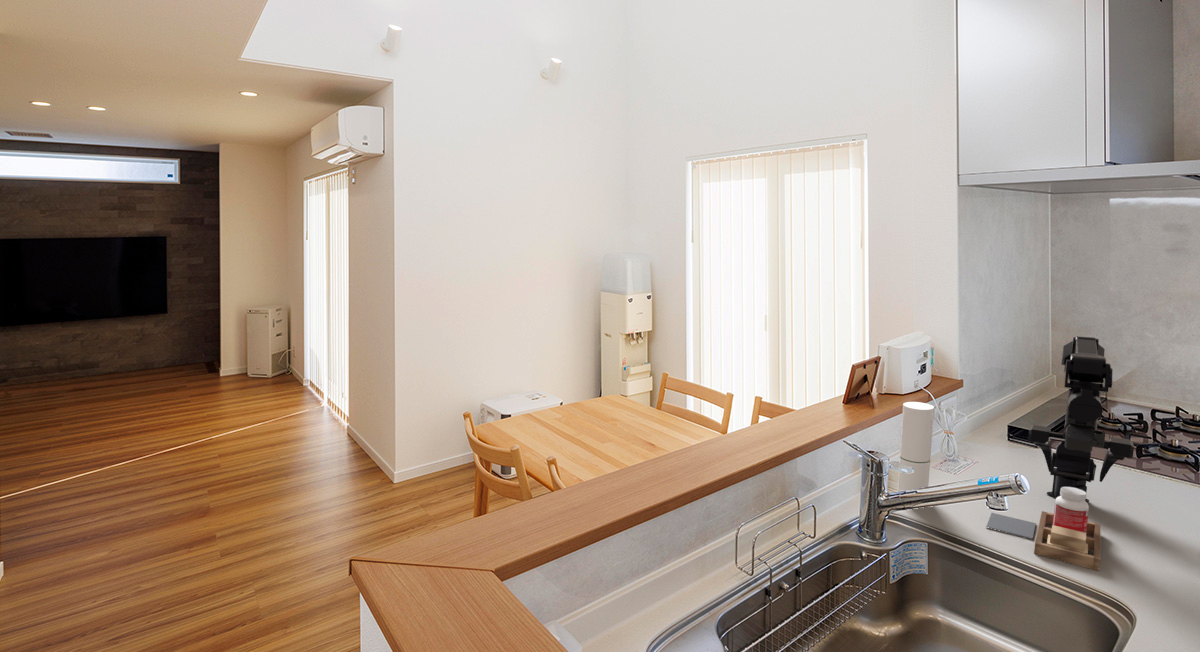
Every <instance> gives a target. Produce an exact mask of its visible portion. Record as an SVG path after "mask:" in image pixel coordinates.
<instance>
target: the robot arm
mask: <svg viewBox="0 0 1200 652" xmlns="http://www.w3.org/2000/svg"><path fill="white" fill-rule="evenodd" d="M1072 338H1073V339H1072V341H1070V342H1068V343H1066V344H1064V345H1063V346H1062V347H1063V348H1062V353H1061V362H1060V363H1061V366H1063V373H1064V385H1063V386H1064V388H1067V389H1068V393H1067V399H1066V400H1067V403H1066V411H1065V419H1064V421H1065V422H1064V427H1063V433H1062V432H1061V433H1060V432H1054V431H1052V430H1051V429H1052V428H1051V427H1050V426H1045V425H1044V426H1043V425H1038V424H1037V425H1036V424H1033V425H1031V426H1030V427H1029V430H1028V436H1027V441H1028V442H1031V443H1034V446H1037V447H1039V448H1040V449H1041V451H1042V453H1043V455H1044V458H1045V462H1046V465H1047V468H1048V472H1049V473H1050V474H1049V475H1050V476H1053V480H1052V491H1047V492H1046V494H1047V495H1048V496H1050V497H1053V498H1054V499H1056V498H1057V497H1059V496H1061V495H1060V490H1061V488H1062V487H1073V488H1077V489H1080V490H1083V491H1085V492H1086V493H1088V492H1087V490H1088V486H1087V482H1088V483H1092V481H1093V482H1094V481H1095V476H1096V475H1095V474H1096V470H1097V465H1096V463H1095V461H1094V458H1091V457H1092V452H1093V448H1097V449H1105V450H1106V451H1105V455H1104V458H1103V462H1102V465H1101V466H1102V467H1101V469H1100V473H1099V482H1100V483H1103V481H1104V478H1106V476H1107V474H1108V472H1109V471H1110V469H1111V467H1112V466H1113V465H1114V464H1116V462H1118V461H1124V460H1125V458H1126V459H1127V458H1128V459H1133V458H1134V451H1135V450H1134V442H1133V441H1132V440H1131V439H1128V438H1122V437H1115V436H1110V437H1109V440H1107V439H1106V431H1104V430H1103V431H1102V430H1097V429H1098V421H1099V420H1098V419H1099V418H1101V416H1102V415H1103V412H1104V411H1103V404H1102V401H1101V393H1102V392H1103V393H1108V392H1109V388H1113V368H1112V367H1111V364H1110V363H1107V359H1106V356H1105V348H1104V347H1103V346H1101V345H1100V344H1099V343H1100V342H1099V341H1100V339H1099V338H1096V337H1092V336H1091V337H1090V336H1075V337H1074V336H1073V337H1072ZM1105 439H1106V440H1105ZM1052 441H1056V442H1059V443H1058V444H1057V445H1056V447H1055V452H1053V451H1052ZM1084 501H1086V502H1087V503H1089V502H1090V500H1089V499H1088V498H1086V499H1085V500H1084Z"/></svg>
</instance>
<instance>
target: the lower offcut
mask: <svg viewBox="0 0 1200 652" xmlns="http://www.w3.org/2000/svg"><path fill="white" fill-rule="evenodd" d="M1050 536H1051V535H1049V534H1048V539H1046V540H1047V541H1046V544H1048V545H1052V546H1056V547H1060V548H1064V549H1068V550H1072V551H1076V552H1080V553H1084V554H1088V553H1089V550H1088V544H1085V551H1081V550H1077V549H1073V548H1069V547H1065V546H1061V545H1057V544H1053V543H1050ZM1088 555H1089V554H1088Z"/></svg>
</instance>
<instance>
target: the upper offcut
mask: <svg viewBox="0 0 1200 652" xmlns="http://www.w3.org/2000/svg"><path fill="white" fill-rule="evenodd" d="M1051 528H1052V529H1051V536H1050V543H1053V544H1057V545H1061V546H1065V547H1069V548H1073V549H1077V550H1081V551H1085V544H1086V537H1087V533H1084V532H1080V531H1076V530H1071V529H1067V528H1063V527H1059V526H1054V525H1051Z"/></svg>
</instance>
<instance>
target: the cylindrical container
mask: <svg viewBox="0 0 1200 652" xmlns="http://www.w3.org/2000/svg"><path fill="white" fill-rule="evenodd" d="M934 412H935V407H934V405H932V404H930V403H926V402H921V401H907V402H904V403H903V404H902V415H901V430H900V431H901V432H900V433H901V434H900V447H899V463H902V464H905V465H909V466H912V467H913V468H914V473H911V474H905V473H899V472H898V476H899V480H898V479H897V492H898V491H899V490H912V489H917V488H922V487H928V488H929V485H930V484H929V483H930V469H931V456H932V455H931V454H932V441H933V428H934V427H933V425H934V415H935V414H934ZM899 463H898V464H899Z"/></svg>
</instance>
